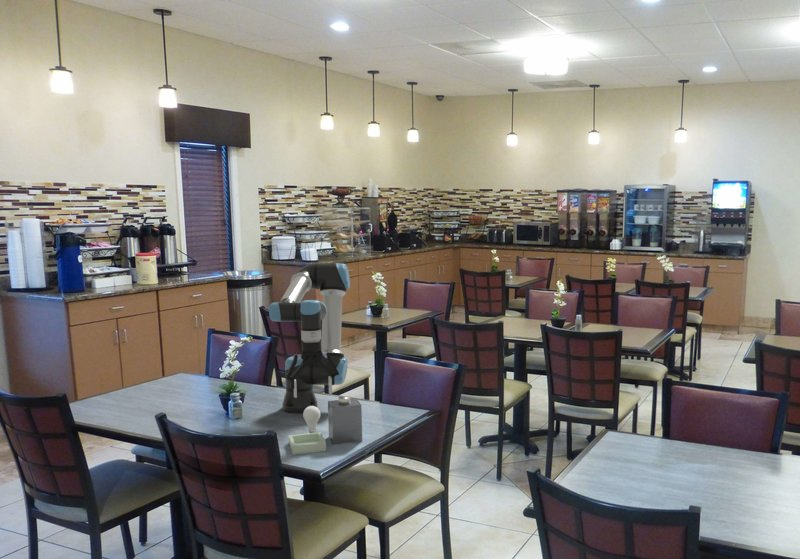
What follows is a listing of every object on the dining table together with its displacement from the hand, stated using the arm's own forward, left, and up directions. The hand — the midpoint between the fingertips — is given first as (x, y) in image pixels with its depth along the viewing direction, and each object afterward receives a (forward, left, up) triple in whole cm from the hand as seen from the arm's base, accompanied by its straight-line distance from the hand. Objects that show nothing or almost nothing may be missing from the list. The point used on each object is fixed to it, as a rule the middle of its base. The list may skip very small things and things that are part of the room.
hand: (313, 395), depth 263 cm
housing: (+10, +10, -15) cm, 21 cm away
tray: (+14, -5, -15) cm, 21 cm away
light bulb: (0, -1, -15) cm, 16 cm away
